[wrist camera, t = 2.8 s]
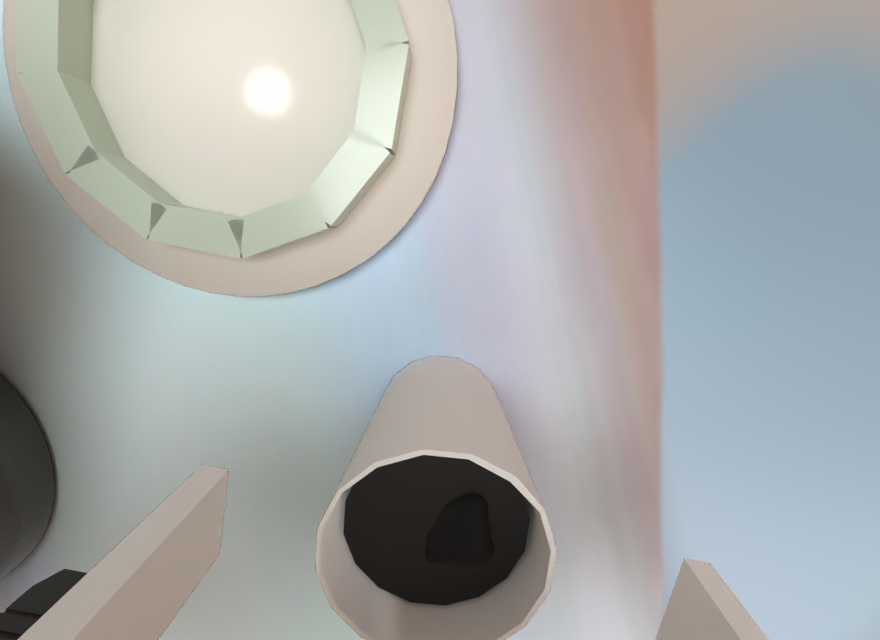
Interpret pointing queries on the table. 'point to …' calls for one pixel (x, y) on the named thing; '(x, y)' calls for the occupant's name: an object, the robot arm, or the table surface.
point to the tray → (237, 128)
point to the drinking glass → (436, 516)
